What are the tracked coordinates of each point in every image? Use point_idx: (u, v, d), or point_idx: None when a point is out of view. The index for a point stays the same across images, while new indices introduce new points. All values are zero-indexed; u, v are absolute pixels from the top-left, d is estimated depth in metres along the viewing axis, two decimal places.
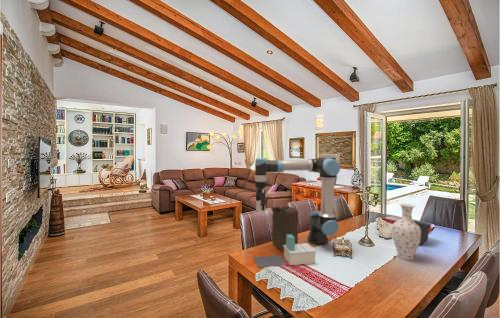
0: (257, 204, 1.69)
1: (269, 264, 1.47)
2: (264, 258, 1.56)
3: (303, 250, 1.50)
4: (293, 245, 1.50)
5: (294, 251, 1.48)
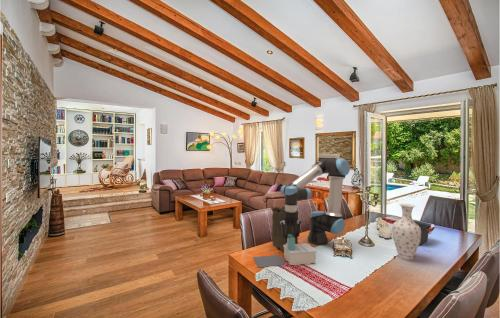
0: None
1: (269, 264, 1.47)
2: (264, 258, 1.56)
3: (303, 250, 1.50)
4: (293, 245, 1.50)
5: (294, 251, 1.48)
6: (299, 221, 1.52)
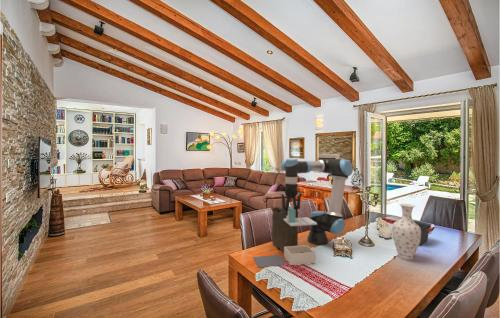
0: None
1: (269, 264, 1.47)
2: (264, 258, 1.56)
3: (304, 222, 1.49)
4: (294, 217, 1.49)
5: (295, 223, 1.48)
6: (299, 193, 1.52)
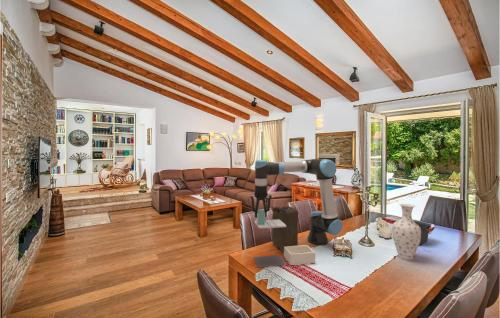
0: None
1: (269, 264, 1.47)
2: (264, 258, 1.56)
3: (273, 224, 1.48)
4: (263, 219, 1.47)
5: (263, 225, 1.46)
6: (269, 195, 1.50)
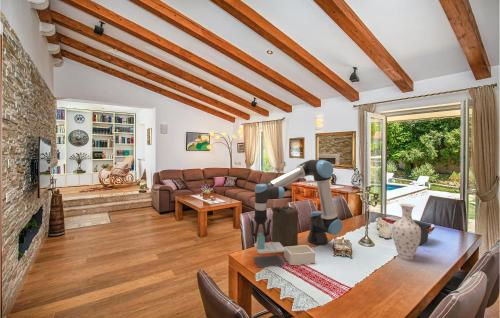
0: None
1: (269, 264, 1.47)
2: (264, 258, 1.56)
3: (273, 249, 1.48)
4: (262, 244, 1.48)
5: (263, 250, 1.46)
6: (269, 219, 1.51)
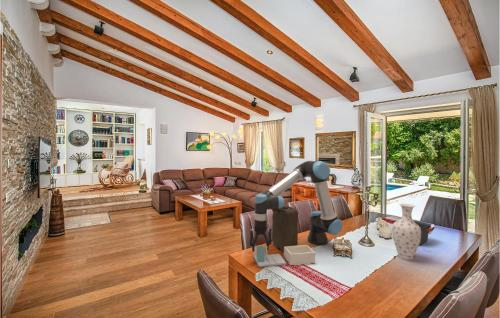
0: (265, 248, 1.52)
1: None
2: None
3: (273, 262, 1.48)
4: (262, 257, 1.48)
5: (263, 263, 1.47)
6: (269, 229, 1.51)
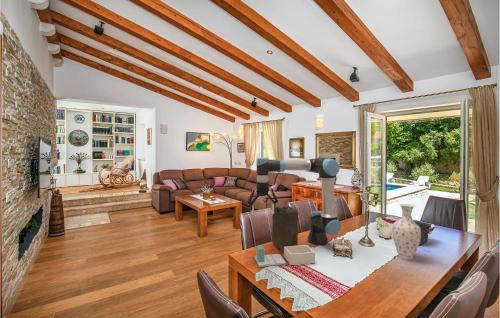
0: (272, 207, 1.58)
1: None
2: None
3: (273, 262, 1.48)
4: (262, 257, 1.48)
5: (263, 263, 1.47)
6: (271, 189, 1.56)
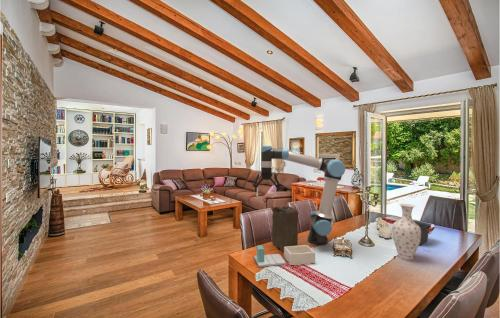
0: (274, 190, 1.77)
1: None
2: None
3: (273, 262, 1.48)
4: (262, 257, 1.48)
5: (263, 263, 1.47)
6: (274, 174, 1.75)
